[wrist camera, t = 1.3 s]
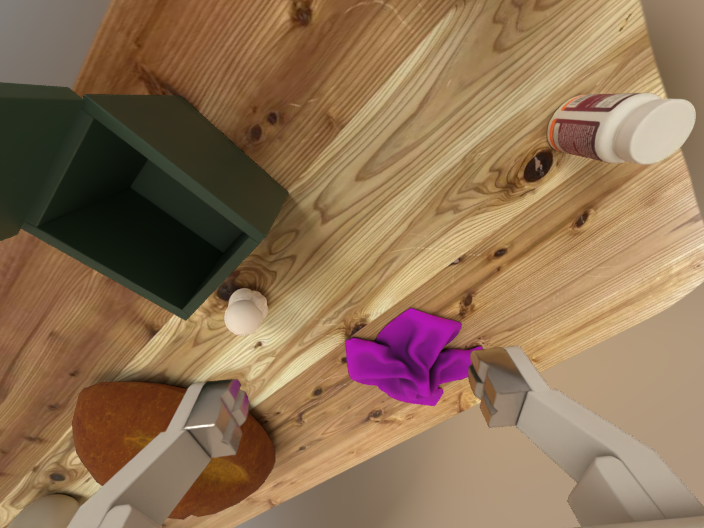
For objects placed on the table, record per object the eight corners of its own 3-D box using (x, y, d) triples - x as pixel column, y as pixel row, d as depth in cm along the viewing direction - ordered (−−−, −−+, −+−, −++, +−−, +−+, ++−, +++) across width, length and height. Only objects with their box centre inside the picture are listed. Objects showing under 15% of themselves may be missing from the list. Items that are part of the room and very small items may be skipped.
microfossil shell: (273, 286, 34) (263, 317, 29) (268, 318, 36) (258, 352, 31) (235, 279, 33) (218, 309, 28) (232, 312, 35) (216, 346, 31)
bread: (135, 337, 37) (53, 435, 26) (310, 433, 50) (303, 522, 40) (64, 404, 43) (-26, 504, 33) (236, 473, 57) (213, 559, 46)
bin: (289, 192, 28) (266, 236, 19) (228, 258, 31) (185, 321, 22) (180, 95, 23) (83, 93, 14) (123, 184, 27) (17, 227, 18)
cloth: (319, 353, 40) (317, 392, 35) (430, 284, 34) (447, 317, 29) (405, 418, 49) (413, 456, 44) (502, 371, 44) (525, 409, 39)
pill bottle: (574, 158, 27) (658, 179, 20) (534, 141, 26) (608, 158, 19) (611, 105, 25) (721, 108, 18) (569, 85, 24) (667, 79, 17)
